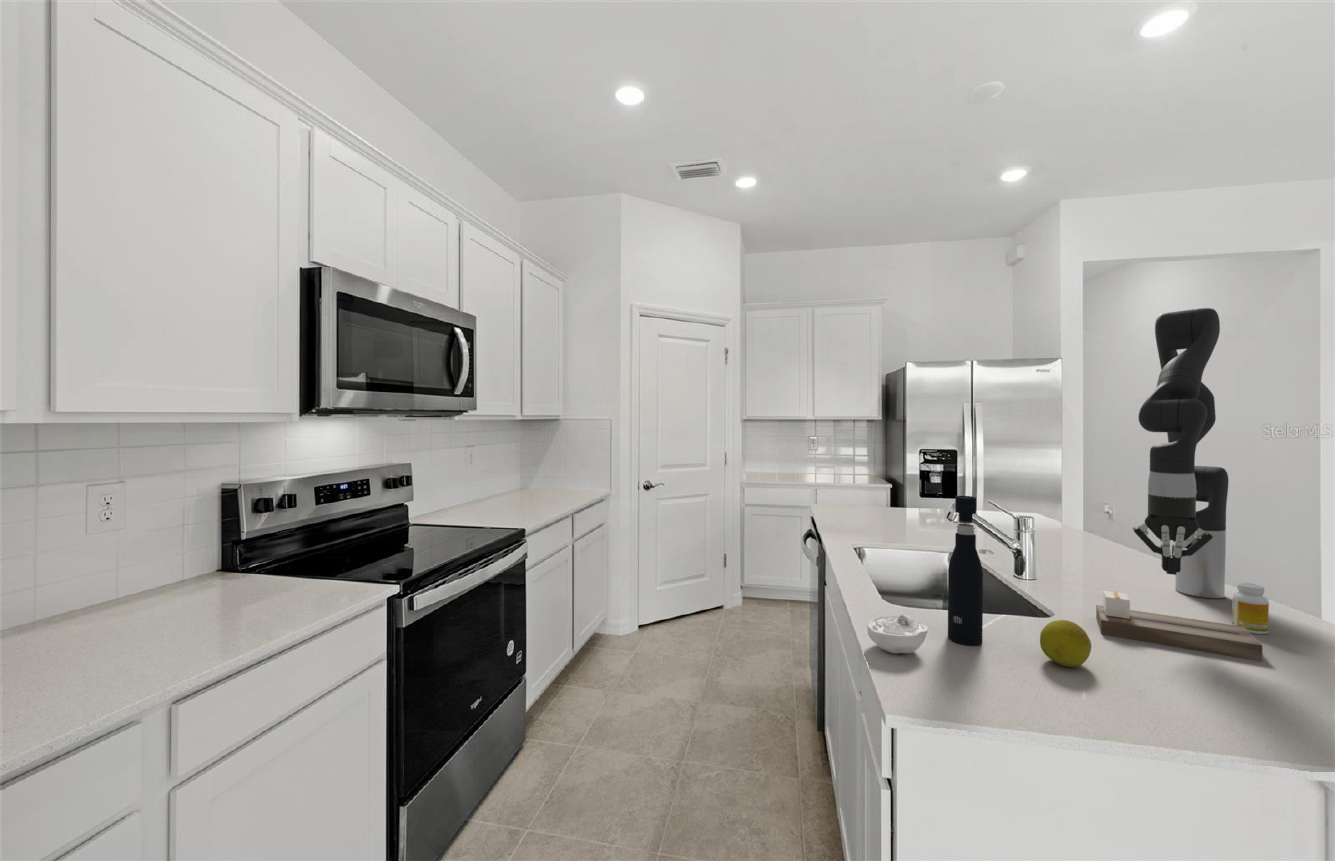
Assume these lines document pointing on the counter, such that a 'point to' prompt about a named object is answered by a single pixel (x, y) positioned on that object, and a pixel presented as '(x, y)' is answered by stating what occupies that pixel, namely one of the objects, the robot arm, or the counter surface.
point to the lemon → (1065, 643)
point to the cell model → (897, 633)
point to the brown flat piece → (1182, 633)
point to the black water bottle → (965, 580)
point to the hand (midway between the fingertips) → (1170, 573)
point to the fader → (1116, 604)
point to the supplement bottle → (1250, 608)
